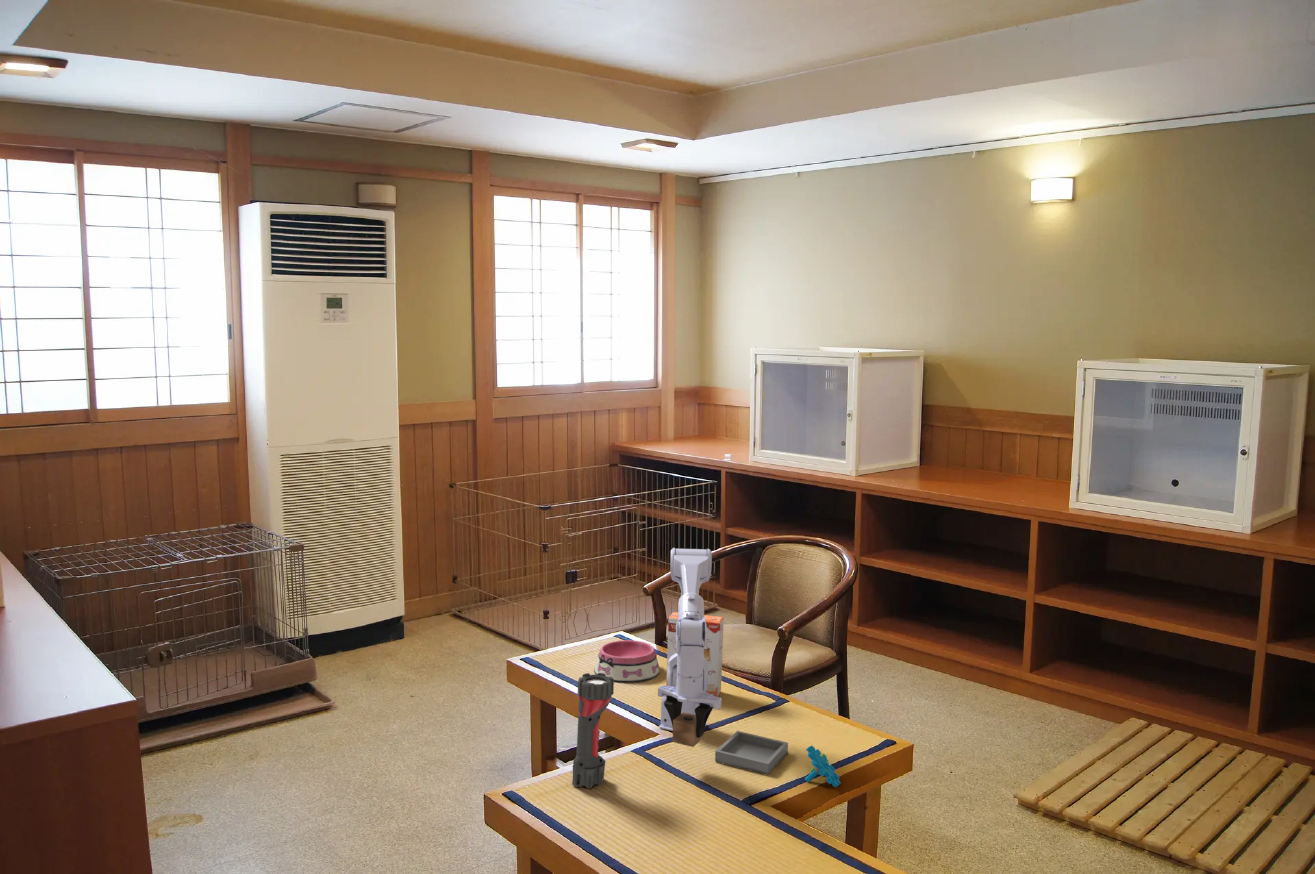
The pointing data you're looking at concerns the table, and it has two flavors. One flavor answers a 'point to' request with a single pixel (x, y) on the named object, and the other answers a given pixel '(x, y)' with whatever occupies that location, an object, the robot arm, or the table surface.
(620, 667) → the dog bowl
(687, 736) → the walnut block
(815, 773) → the gear
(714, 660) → the cracker box
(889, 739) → the table surface
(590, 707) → the flashlight
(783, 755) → the tray
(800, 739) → the table surface
